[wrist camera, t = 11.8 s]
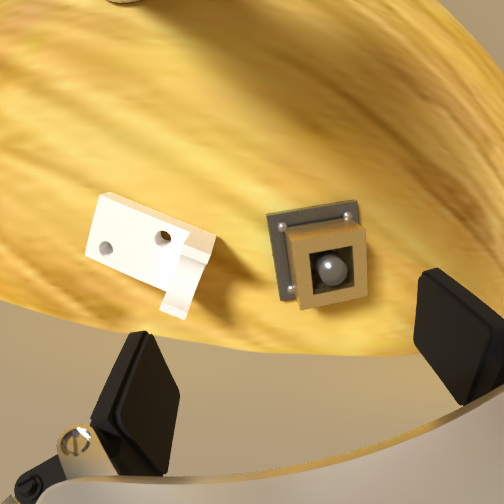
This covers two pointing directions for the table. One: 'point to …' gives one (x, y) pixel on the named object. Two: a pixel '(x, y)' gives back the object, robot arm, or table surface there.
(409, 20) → the table surface
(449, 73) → the table surface
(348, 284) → the collar
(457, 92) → the table surface
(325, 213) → the peg base plate
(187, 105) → the table surface
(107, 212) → the bracket
